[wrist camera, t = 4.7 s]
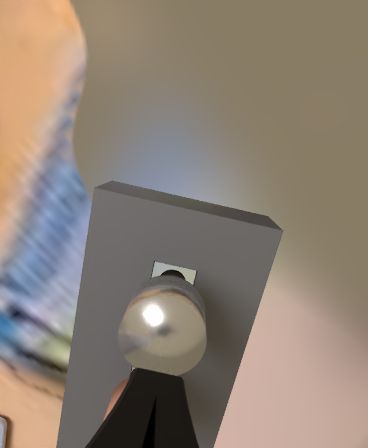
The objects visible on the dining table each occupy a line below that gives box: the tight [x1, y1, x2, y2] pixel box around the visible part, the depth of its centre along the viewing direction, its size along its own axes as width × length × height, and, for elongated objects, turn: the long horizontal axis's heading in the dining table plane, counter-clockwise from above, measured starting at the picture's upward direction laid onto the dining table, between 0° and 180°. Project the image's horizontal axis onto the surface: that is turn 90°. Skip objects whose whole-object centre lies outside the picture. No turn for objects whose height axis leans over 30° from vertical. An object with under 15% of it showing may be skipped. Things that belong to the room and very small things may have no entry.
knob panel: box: [56, 181, 283, 448], centre depth 18 cm, size 18×9×3 cm, turn 167°
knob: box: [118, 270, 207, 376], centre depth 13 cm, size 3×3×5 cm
